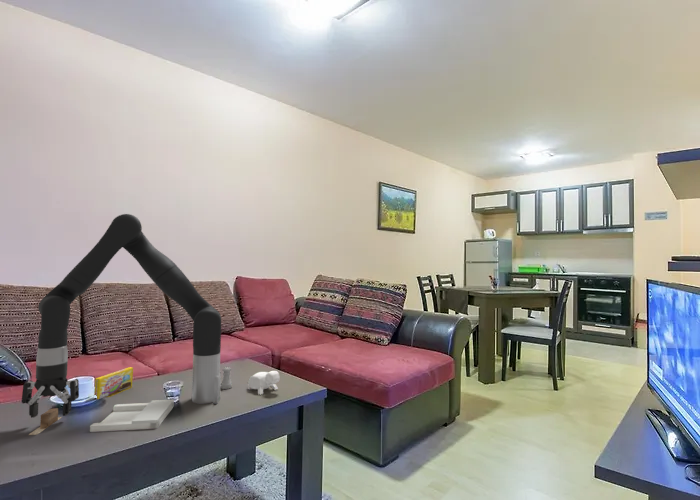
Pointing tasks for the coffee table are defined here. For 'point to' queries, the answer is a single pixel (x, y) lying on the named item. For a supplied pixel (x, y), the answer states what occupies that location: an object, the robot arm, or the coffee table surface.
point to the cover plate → (47, 420)
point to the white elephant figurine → (263, 381)
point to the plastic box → (135, 416)
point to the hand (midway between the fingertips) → (50, 415)
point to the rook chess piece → (226, 379)
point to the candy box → (113, 383)
